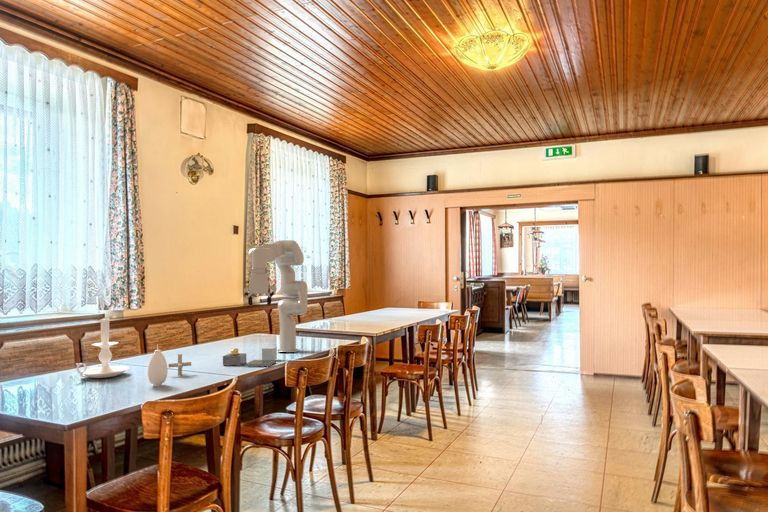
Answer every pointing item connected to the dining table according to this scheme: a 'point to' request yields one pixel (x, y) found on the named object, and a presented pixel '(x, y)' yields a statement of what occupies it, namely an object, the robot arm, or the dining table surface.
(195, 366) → the dining table surface
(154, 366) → the egg shaped candle
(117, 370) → the candlestick
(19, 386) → the dining table surface
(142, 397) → the dining table surface
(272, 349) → the block
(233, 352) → the brass pin
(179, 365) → the pipe connector
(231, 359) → the block
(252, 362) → the press bed
